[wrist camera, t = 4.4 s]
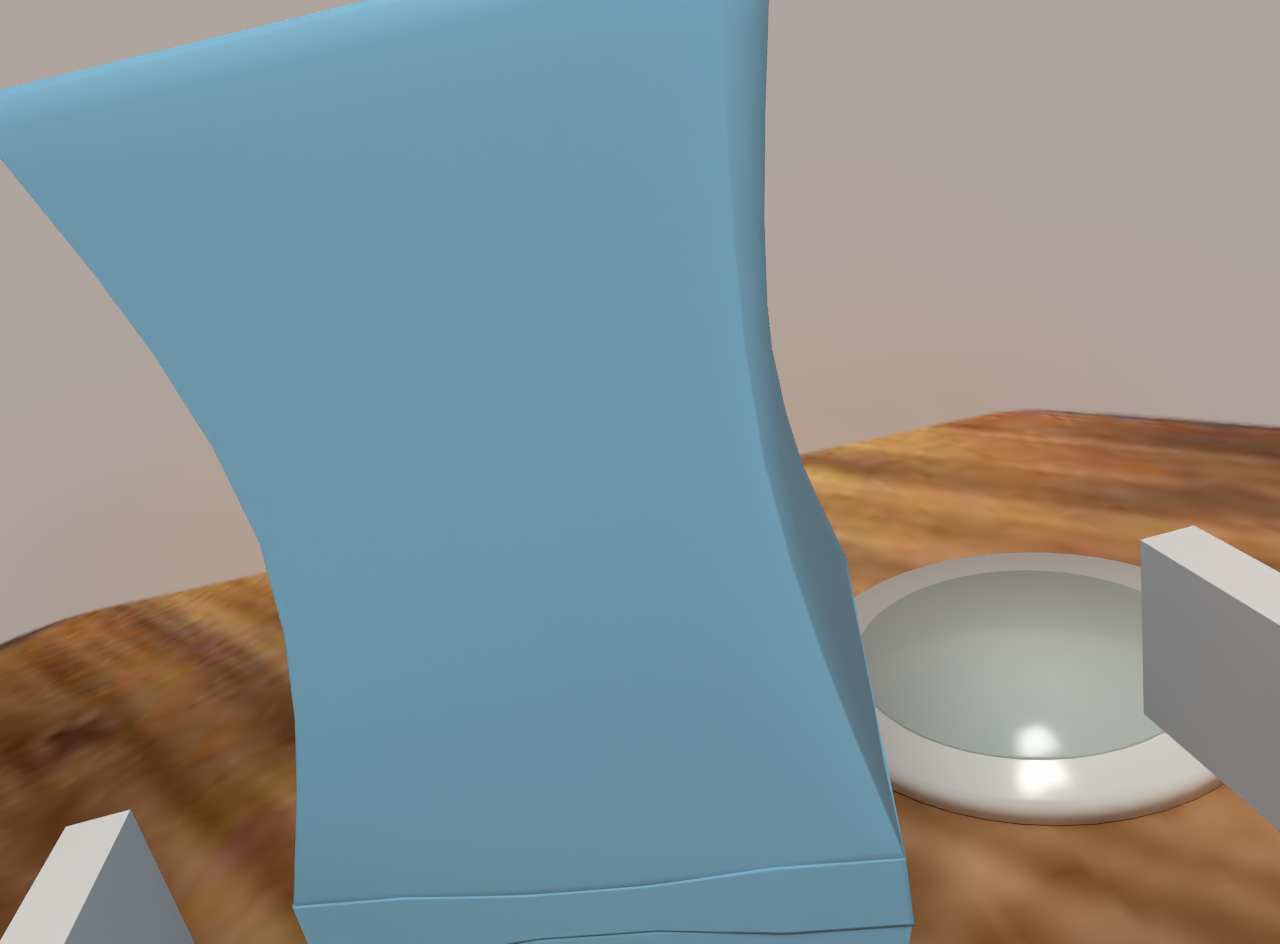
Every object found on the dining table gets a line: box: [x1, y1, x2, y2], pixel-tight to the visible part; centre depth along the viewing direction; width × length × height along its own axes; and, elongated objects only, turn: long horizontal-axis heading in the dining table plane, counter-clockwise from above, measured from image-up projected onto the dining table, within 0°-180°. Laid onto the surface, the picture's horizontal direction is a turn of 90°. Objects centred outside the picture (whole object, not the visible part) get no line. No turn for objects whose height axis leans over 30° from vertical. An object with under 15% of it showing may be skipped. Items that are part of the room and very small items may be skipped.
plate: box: [854, 553, 1224, 825], centre depth 30 cm, size 13×13×1 cm
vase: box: [0, 0, 915, 944], centre depth 16 cm, size 8×8×20 cm
